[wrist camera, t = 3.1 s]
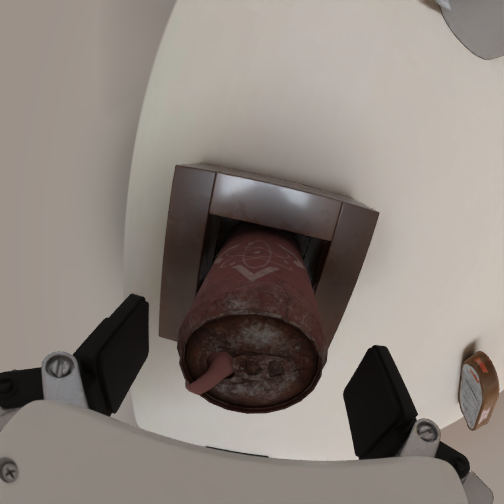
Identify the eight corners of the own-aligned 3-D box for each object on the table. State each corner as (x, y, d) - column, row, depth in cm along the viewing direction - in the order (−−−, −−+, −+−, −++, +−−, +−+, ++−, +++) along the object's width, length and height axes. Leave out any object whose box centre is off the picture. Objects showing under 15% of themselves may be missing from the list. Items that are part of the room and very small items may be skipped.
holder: (180, 299, 25) (158, 336, 19) (200, 163, 20) (175, 164, 15) (309, 326, 25) (318, 369, 19) (352, 198, 21) (379, 212, 15)
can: (208, 248, 23) (137, 359, 10) (266, 199, 21) (261, 268, 8) (254, 298, 24) (238, 434, 11) (312, 256, 22) (359, 378, 9)
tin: (468, 396, 29) (487, 430, 21) (453, 406, 29) (471, 441, 21) (476, 338, 25) (507, 377, 17) (458, 350, 25) (488, 392, 17)
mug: (502, 41, 12) (551, 27, 2) (483, 76, 15) (546, 63, 5) (439, -25, 10) (478, -58, 1) (411, -2, 13) (457, -45, 3)
